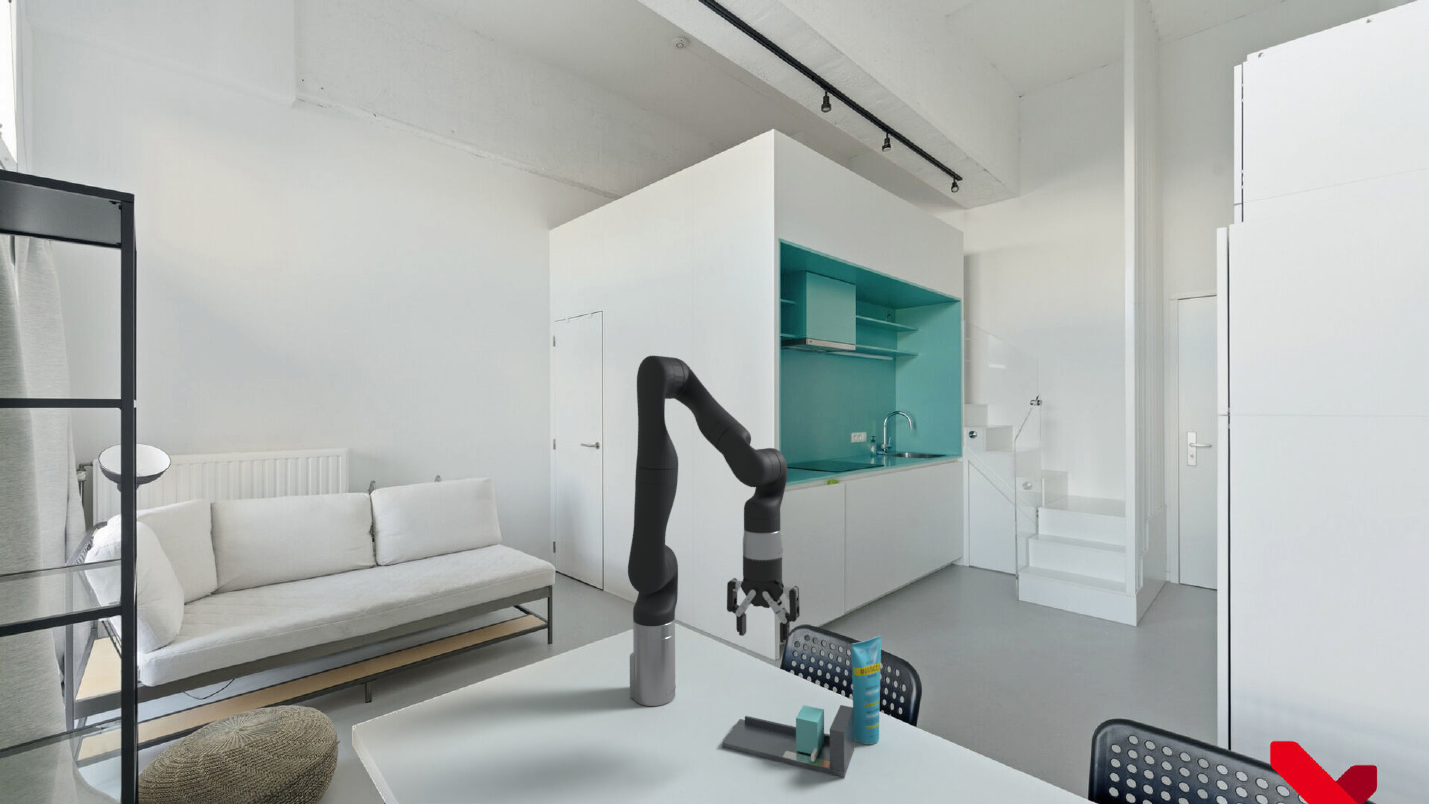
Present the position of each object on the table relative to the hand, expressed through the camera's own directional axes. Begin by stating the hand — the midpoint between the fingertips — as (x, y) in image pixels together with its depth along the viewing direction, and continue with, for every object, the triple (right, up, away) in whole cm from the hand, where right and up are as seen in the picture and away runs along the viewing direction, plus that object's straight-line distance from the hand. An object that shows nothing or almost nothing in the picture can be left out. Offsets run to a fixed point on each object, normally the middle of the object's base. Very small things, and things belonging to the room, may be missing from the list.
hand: (762, 637), depth 115 cm
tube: (+20, -20, +1) cm, 29 cm away
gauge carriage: (+8, -19, -5) cm, 21 cm away
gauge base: (+4, -20, -2) cm, 21 cm away
